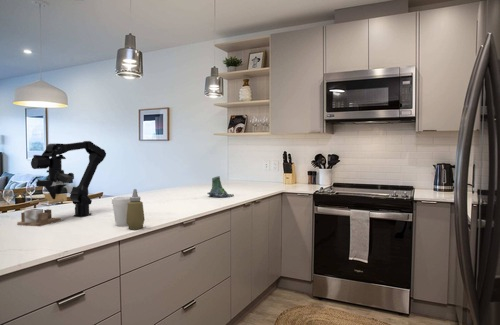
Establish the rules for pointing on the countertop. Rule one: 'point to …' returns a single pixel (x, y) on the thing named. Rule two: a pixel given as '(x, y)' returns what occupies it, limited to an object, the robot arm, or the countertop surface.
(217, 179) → the tree stump
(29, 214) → the display stand
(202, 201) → the countertop surface
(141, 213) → the squeeze bottle
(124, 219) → the foam cup
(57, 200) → the wooden c-shaped bracket
